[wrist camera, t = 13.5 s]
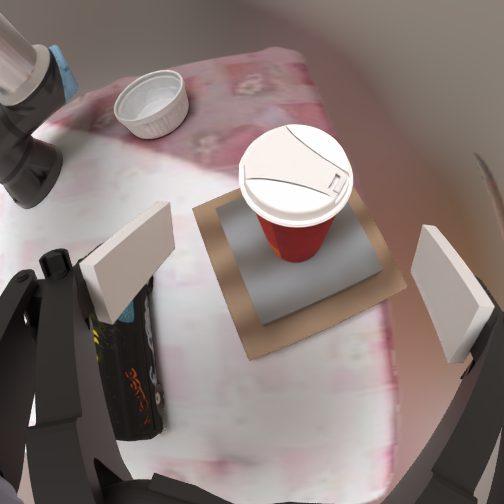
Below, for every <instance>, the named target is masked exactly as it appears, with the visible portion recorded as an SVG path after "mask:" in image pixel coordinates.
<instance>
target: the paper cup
mask: <svg viewBox="0 0 504 504" xmlns="http://www.w3.org/2000/svg"><path fill="white" fill-rule="evenodd" d="M239 184H240V189H241V192H242V195H243V197H244V199H245V200H246V202H247V204H248V205H249V206H250V207H251V208H252V210H254V211H255V213H256V215H257V218H258V220H259V222H260V224H261V227H262V229H263V231H264V234H265V236H266V238H267V240H268V243H269V245H270V247H271V248H272V250H273V251H274V253H275V254H276V255H277V256H278V257H279V258H281V259H282V260H285V261H287V262H291V263H300V262H304V261H306V260H308V259H310V258H311V257H313V256H314V255H315V254H316V253H317V251H318V250H319V248H320V246H321V245H322V243H323V241H324V239H325V237H326V235H327V233H328V231H329V229H330V227H331V225H332V222H333V220H334V218H335V217H336V215H337V213H338V212H339V211H340V210H341V209H342V208H343V207H344V206H345V204H346V202H347V201H348V199H349V197H350V194H351V191H352V186H353V174H352V169H351V166H350V163H349V161H348V159H347V156H346V154H345V152H344V150H343V149H342V147H341V146H340V145H339V143H338V142H337V141H336V140H335V139H334V138H332V137H331V136H330V135H328V134H327V133H325V132H323V131H321V130H319V129H317V128H314V127H310V126H306V125H286V126H282V127H279V128H276V129H273V130H270V131H268V132H266V133H265V134H263V135H261V136H260V137H259V138H258V139H256V140H255V141H253V142H252V144H251V145H250V146H249V147H248V149H247V150H246V152H245V154H244V155H243V157H242V159H241V161H240V164H239Z"/></svg>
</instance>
